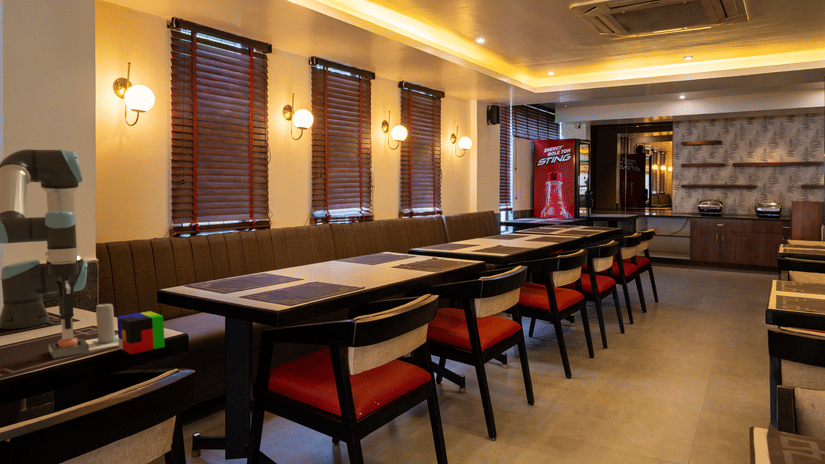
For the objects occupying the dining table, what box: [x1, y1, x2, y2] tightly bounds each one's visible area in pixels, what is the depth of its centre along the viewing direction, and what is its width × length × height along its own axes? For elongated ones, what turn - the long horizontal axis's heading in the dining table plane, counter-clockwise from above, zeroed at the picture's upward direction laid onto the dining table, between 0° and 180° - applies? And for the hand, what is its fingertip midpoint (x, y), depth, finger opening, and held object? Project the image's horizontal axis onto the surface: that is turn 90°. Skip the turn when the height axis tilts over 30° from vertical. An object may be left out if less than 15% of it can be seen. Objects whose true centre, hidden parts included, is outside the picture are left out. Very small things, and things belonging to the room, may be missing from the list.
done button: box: [57, 336, 79, 348], centre depth 163 cm, size 5×5×4 cm
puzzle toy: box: [116, 310, 166, 355], centre depth 167 cm, size 10×10×10 cm
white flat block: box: [84, 334, 119, 352], centre depth 173 cm, size 13×12×1 cm
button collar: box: [48, 337, 90, 360], centre depth 163 cm, size 9×9×2 cm
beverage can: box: [95, 303, 116, 343], centre depth 173 cm, size 5×5×12 cm
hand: (68, 338), depth 163 cm, fingers closed
